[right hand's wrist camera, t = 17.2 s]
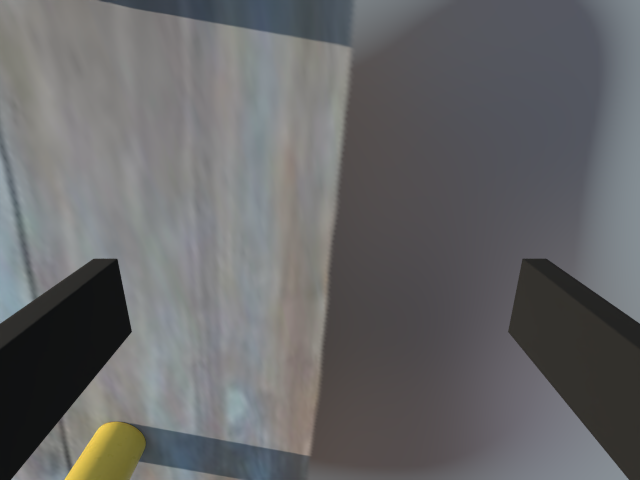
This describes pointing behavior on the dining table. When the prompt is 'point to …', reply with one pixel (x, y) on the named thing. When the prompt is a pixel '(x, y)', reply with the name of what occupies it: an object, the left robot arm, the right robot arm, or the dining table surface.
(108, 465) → the tin
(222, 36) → the dining table surface
